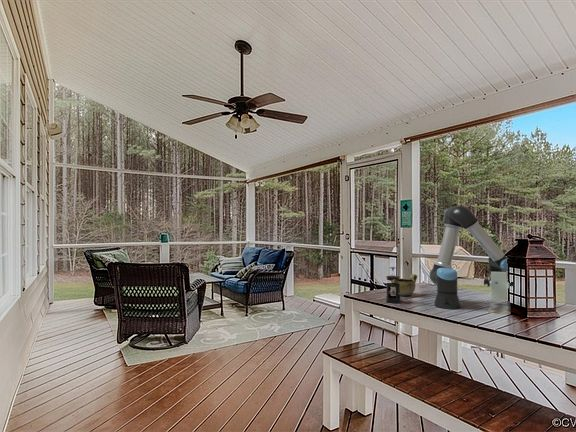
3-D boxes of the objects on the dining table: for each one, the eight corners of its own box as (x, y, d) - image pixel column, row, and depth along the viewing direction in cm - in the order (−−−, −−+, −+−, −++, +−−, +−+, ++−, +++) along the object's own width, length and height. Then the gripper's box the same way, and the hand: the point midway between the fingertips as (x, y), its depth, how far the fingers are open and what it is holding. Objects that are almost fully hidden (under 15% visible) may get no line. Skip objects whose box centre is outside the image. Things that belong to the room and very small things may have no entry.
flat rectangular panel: (491, 299, 208) (490, 272, 209) (491, 298, 211) (490, 271, 212) (507, 300, 205) (506, 272, 205) (507, 299, 208) (506, 272, 208)
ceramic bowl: (398, 298, 249) (398, 276, 249) (383, 294, 265) (383, 273, 265) (423, 295, 257) (423, 275, 257) (408, 291, 273) (407, 272, 273)
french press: (404, 303, 234) (403, 268, 235) (391, 304, 231) (391, 268, 232) (394, 299, 245) (393, 266, 246) (381, 300, 243) (381, 266, 243)
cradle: (488, 312, 208) (488, 301, 208) (487, 310, 214) (487, 299, 214) (510, 314, 203) (510, 303, 203) (509, 312, 209) (509, 301, 209)
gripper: (516, 286, 220) (521, 293, 200) (478, 284, 229) (479, 290, 209) (516, 274, 220) (521, 279, 200) (477, 272, 230) (478, 277, 209)
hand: (499, 285), depth 204 cm, fingers closed on flat rectangular panel, 8 cm apart
